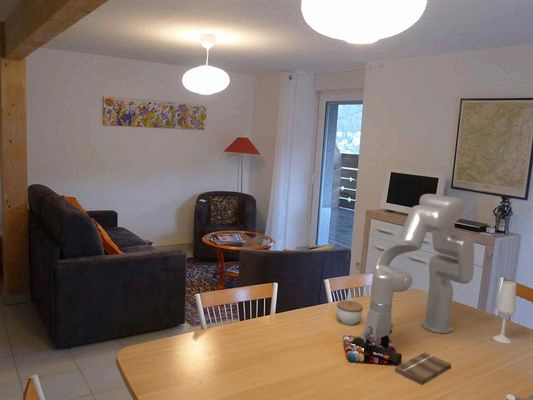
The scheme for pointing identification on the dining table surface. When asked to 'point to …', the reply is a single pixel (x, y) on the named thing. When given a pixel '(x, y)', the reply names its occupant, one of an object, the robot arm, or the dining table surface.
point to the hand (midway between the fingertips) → (376, 350)
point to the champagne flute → (506, 307)
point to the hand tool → (380, 350)
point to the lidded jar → (349, 312)
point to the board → (422, 368)
